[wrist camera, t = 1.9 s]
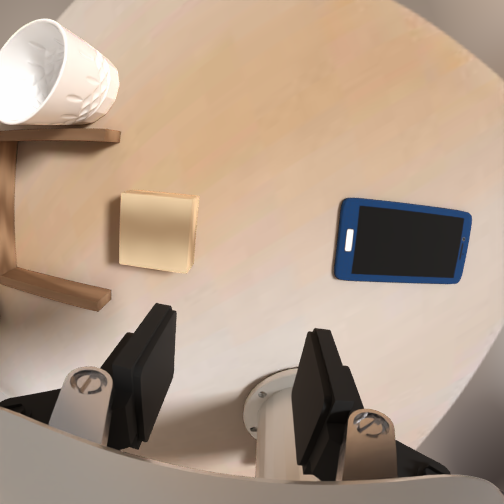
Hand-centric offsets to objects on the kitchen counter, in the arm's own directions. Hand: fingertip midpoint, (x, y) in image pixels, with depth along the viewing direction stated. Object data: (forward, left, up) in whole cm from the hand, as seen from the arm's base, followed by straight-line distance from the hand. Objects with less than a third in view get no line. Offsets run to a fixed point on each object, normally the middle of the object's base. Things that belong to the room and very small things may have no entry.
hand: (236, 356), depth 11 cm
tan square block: (0, +8, -18) cm, 19 cm away
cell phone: (+2, -14, -18) cm, 23 cm away
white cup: (+12, +17, -18) cm, 27 cm away
